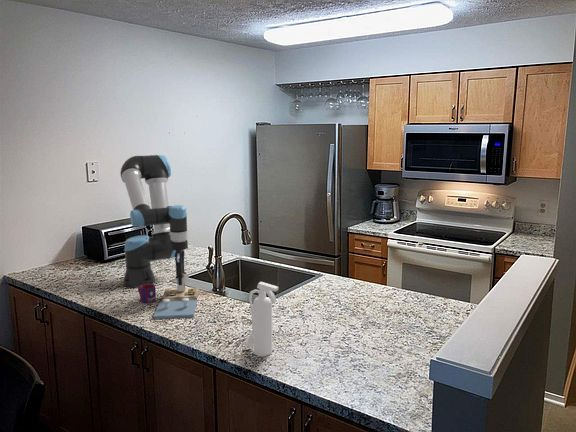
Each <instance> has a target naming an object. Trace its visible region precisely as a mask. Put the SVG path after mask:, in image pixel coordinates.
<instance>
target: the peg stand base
mask: <svg viewBox="0 0 576 432" xmlns="http://www.w3.org/2000/svg"><path fill="white" fill-rule="evenodd" d="M183 282H184V291H181V292H178V288H174V287H173V288H165V290H164V292H163V295H162V296H161V301H162V300H164V299H169V300H170V301H182V299H183V298H188V299H189V301H192V300H198V298H199V297H198V296H199V291H200V290H199V287H186V286H185V285H186V283H185V274H184V273H183ZM189 294H192V295H189ZM171 295H173V296H171Z"/></svg>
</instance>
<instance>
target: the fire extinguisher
mask: <svg viewBox="0 0 576 432" xmlns="http://www.w3.org/2000/svg"><path fill="white" fill-rule="evenodd" d="M277 291H279V286H277V285H274V284H270V283H267V282H264V281H259V282H258V283H257V286H256V289H253V290H251V291H249V298H248V300H249V301H248V302H249V306H250V317H251V329H252V330H251V333H250V334H249V335H248V336H247V339H246V341H245V345H246V347H247V348H253V354H254V355H255V356H258V357H268V356H270V355H272V353H273V352H274V351H273V344H274V343H273V304H274V303H276V302H277V297H276V295H275V293H274V292H277ZM255 293H257V294H258V297H257V296H256V297H255V298H254V299H253V300H252V297H253V294H255ZM267 296H268V297H267ZM272 351H273V352H272ZM267 355H268V356H267Z"/></svg>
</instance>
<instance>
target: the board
mask: <svg viewBox="0 0 576 432" xmlns="http://www.w3.org/2000/svg"><path fill="white" fill-rule="evenodd" d="M197 300H198V299H197ZM197 300H192V301H189V299H188V298H183V299H182V301H170V300H169V299H164V300H162V299H161V301H159V302H158V305H157V307H156V310H155V312H154V314H153V320H161V319H163V320H164V319H166V320H167V319H179V318H180V319H181V318H182V319H184V318H186V319H187V318H194V317H195V313H196V308H197V305H198V304H197V303H198V301H197Z"/></svg>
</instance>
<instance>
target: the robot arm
mask: <svg viewBox="0 0 576 432" xmlns="http://www.w3.org/2000/svg"><path fill="white" fill-rule="evenodd" d="M119 173H120V178H121V181H122V182H123V183H124V184H125V188H126V190H127V194H128V197H129V201H130V205H131V208H132V210H130V212H129V213H130V214H129V217H130V218H129V220H130V223H131V226H132V227H134V228H135V227H136V228H137V227H142V228H143V227H148V226H153V229H154V230H153V232H152V233H151V237H150V236H149V235H147V234H143V235H142V234H139V235H135V236H131V237H129V238H127V239H125V242H124V257H125V272H124V277H123V278H122V280H123V281H122V282H123V285H124V286H125V287H127V288H138V286H139V285H145V284H154V283H155V282H156V277H155V276H156V275H155V274H154V271H153V269H152V265H151V262H153V261H155V262H156V261H160V260H170V259H174V261H175V274H176V275H175V276H174V277H175V279H176V286H177V288H178V292H181V291H184V282H183V273H184V275H186V274H187V273H186V269H185V250H187V249H188V248H189V244H188V243H189V242H188V239H189V238H188V222H187V221H188V219H187V218H188V217H187V215H188V213H187V207H186V206H185V205H181V204H180V205H178V204H177V205H169V199H168V190H167V182H168V181H169V178H170V177H171V176H172V175H171V174H172V172H171V164H170V161H169V159H168V158H167V157H166V156H165V155H163V154H159V155H158V154H153V155H152V154H151V155H134V156H131V157H129V158H127V159H126V160H125V161H124V163H123V164H122V166H121V168H120V171H119ZM142 179H144V182H145V184H147V185H148V191H149V198H150V203H149V201H148V198H147V195H146V192H145V191H146V190H145V188H144V186H143V182H142Z"/></svg>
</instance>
